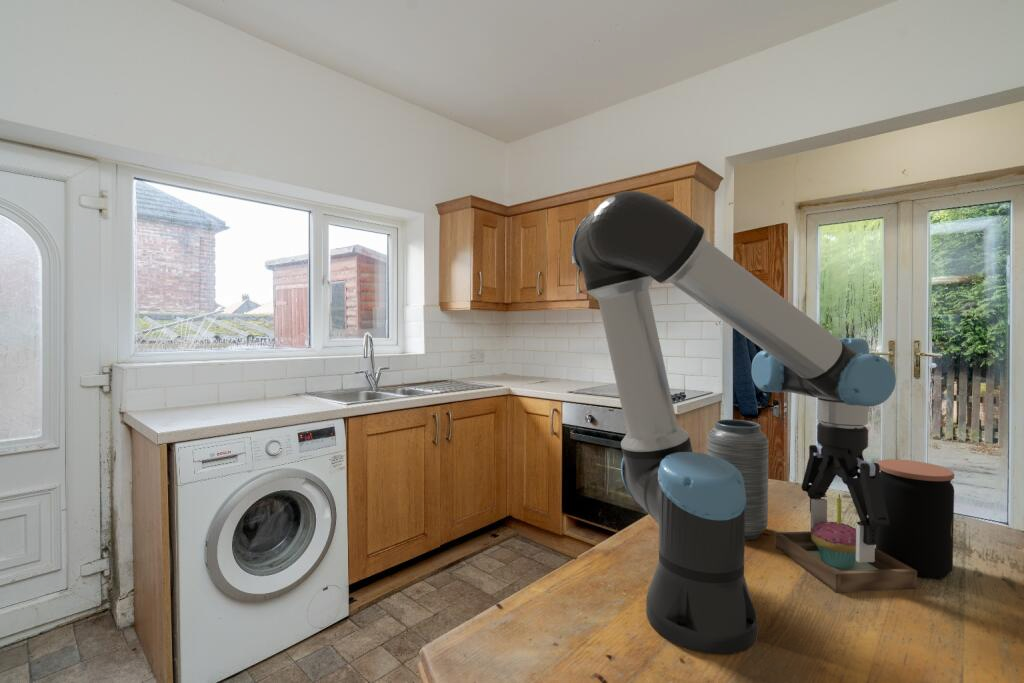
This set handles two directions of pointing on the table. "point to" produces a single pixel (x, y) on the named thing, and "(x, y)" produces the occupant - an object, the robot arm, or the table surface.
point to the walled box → (859, 578)
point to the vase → (745, 466)
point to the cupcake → (836, 542)
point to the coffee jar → (918, 516)
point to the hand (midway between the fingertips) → (840, 546)
